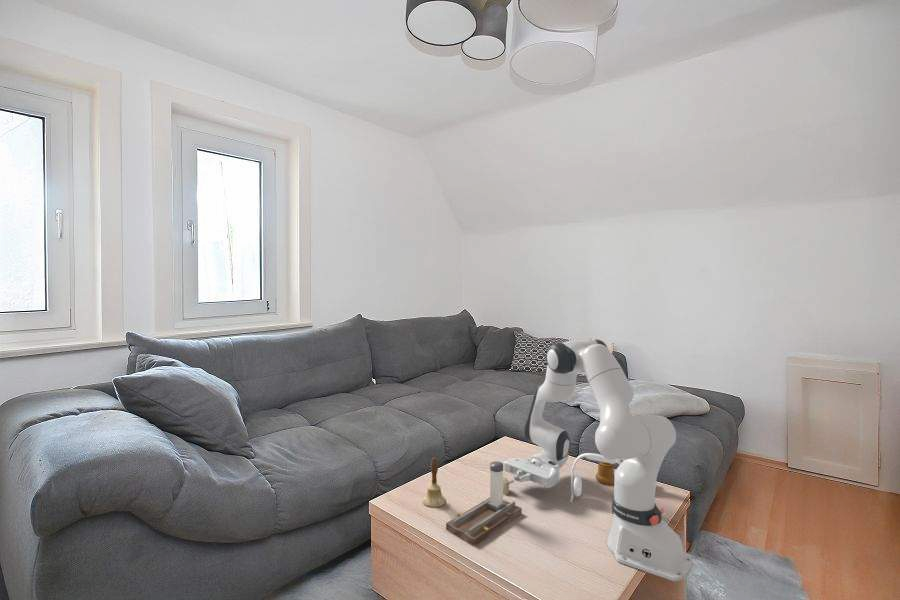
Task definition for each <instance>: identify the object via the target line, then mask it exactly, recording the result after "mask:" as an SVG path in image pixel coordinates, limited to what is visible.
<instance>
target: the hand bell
mask: <svg viewBox="0 0 900 600" xmlns="http://www.w3.org/2000/svg"><path fill="white" fill-rule="evenodd" d="M438 470H439V463H438V461H437V457H432V459H431V463H430V472H431V484H428V486H427V492H426V495H425V496H424V497H423V499H422V500H421V501H422V504H423V505H424V506H425V507H429V508H439V507H442V506H443V505H445V504H446V500H447V499H446V498H445V496H443V493H442V490H441V485H440V484H438V483H437V481H438V479H437V478H438V477H437V475H438Z"/></svg>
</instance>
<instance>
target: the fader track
mask: <svg viewBox="0 0 900 600" xmlns="http://www.w3.org/2000/svg"><path fill="white" fill-rule="evenodd" d="M488 502H490V497H488V498H486V499H485V500H482V501H481V502H480V503H478V504H476V505H475V506H473V507H471V508H470V509H468V510H466V511H465V512H463V513H461V512H460V513H458V514H457V516H456V517H454V518H452V519H451V520H449V521H447V522H446V523H445V529H446V530H447V531H448V532H450V533H451V534H453V535H455V536H457V537H459V538H461V539H462V540H463V541H466V542H467V543H469V544H471V545H472V546H475V547H476V546H477V545H478V544H480V543H481V542H482V541H484V540H485V539H487V538H488V537H490V536H492V535H493V534H495V533H496V532H497V531H499V530H500V529H502V528H503V527H504V526H506V525H507V524H509V523H511V522H512V521H513V520H515V519H516V518H518V517H519V516H520V515H522V514H523V512H522V511H523V509H522V507H520V506H519V505H517V504H516V500H515V501H514V500H512V501H511V502H509V501H507V500H505V499H503V503H505V504H506V506H505V507H503V508H501V509H500V510H498V511H495V510H493V509H491V508H489V507H487V503H488Z"/></svg>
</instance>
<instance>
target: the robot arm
mask: <svg viewBox="0 0 900 600" xmlns="http://www.w3.org/2000/svg"><path fill="white" fill-rule="evenodd" d="M545 358H546V363H547V366H546V372H545V377H544V378H545V379H544V382H542V383H540V384H538V386H537V388H536V390H535V391H534V394H533V398H532V401H531V405H530V408H529V413H528V416H527V419H526V421H525V423H524V426H523V429H522V430H523V436H524V438H525V440H526V441H527V442H529V443H532V444H534V445H537V446H539V447H540V448H542V449H543V450H541V451H540V452H537V453H535V454H533V455H532V456H530V457H529V458H528V459H527V460H526V459H524V458H521V457H517V456H516V457H512V458H509V459H506V460H505V461H504V463H503V471H504V472H507V473H510V474H511V475H513V476H514V477H513V481H517V482H519V483H523V482H532V483H534V484H537V485H539V486H543V487H544V488H548V489H549V488H550V489H551V488H553V487H555V485H557V484H558V483H559V482H560V469H561V468H563V466H564V465H565V464H566V463H567V461H568V460H569V454H570V453H569V452H570V448H571V438H570V434H569V433H568V432H567V430H565V429H562V428H560V427H559V426H556V425H554V424H551V422H548V421H546V420H544V419H543V413H544V410H545V406H546V403H547V402H548V403H550V402H551V403H560V402H561V403H562V402H564V401H567V400H569V399H570V398H572V396H573V395H574V393H575V390H576V386H577V378H578V377H577V376H578V375H577V374H578V373H584V375H585V377H586V380H587V382H588V385H589V386H590V388H591V391H592V393H593V395H594V397H595V400H596V402H597V405H598V409H599V417H600V418H599V425H598V426H597V429H596V430H595V434H594V442H595V446H596V448H597V450H598V452H599V453H600V455H603V456H604V457H605V458H607V459H610V460H619V461H621V462H622V463H621V464H620V465H619V464H618V465H619V466H618V467H617V468H616V469H615V470H614V475H615V476H614V484H613V485H614V486H613V488H614V489H613V490H614V491H613V496H612V501H611V514H612V518H611V519H612V520H611V526H610V530H609V533H608V534H609V535H608V537H607V540H606V544H607V546H608V549H610V551H611V552H612V553H613V554H614V558H615V560H616V561H617V562H618V563H620V564H623V565H626V566H629V567H631V568H634V569H638V570H640V571H643V572H646V573H647V574H648V573H649V574H652V575H655V576H658V577H660V578H663V579H666V580H669V581H672V582H677V581H678V582H679V581H682V580H684V579H685V578H687V576H689V574H691V572H692V569H693V566H694V565H693V564H694V563H693V559H692V558H693V557H692V556H691V554H690V553H687V551H684V546H683V541H682V539H681V537H680V535H679V534H677V532H675V531H674V529H672V528H671V527H670V526H669V525H668V524H667V523H666V522H665V520H663V519H662V518H663V516H662V515H663V513H664V508H663V507H662V508H661V509H659V507H658V506H657V504H656V490H657V487H656V482H657V479H658V475H659V472H660V468H661V466H662V462H663V461H664V459H665V457H666V455H667V453H668V452H669V450H670V449H671V448H672V447H673V446H674V444H675V443H676V440H677V431H676V428H675V427H674V424H673V423H672V422H671V421H670V419H668V418H667V417H665V416H663V415H660V414H659V415H658V414H657V415H656V414H644V415H642V414H641V415H638V416H637V415H636V416H633V415H632V413H631V408H630V403H631V402H632V401H633V398H634V396H635V393H634V388H632V385H631V383H630V381H629V380H628V378H627V375H626V374H625V372H624V370H623V368H622V366H621V365H620V363H619V362H618V360H617V359H616V357H615V356H614V354H613V353H612V351H610V349H609V348H608V345H607V343H605V342H604V341H603V340H601V339H597V338H589V339H578V340H577V339H571V340H567V341H564V342H563V341H562V342H555V343H553V344H551V345H550V346H549V347H548V349H547V351H546V356H545ZM655 489H656V490H655Z"/></svg>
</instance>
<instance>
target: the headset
mask: <svg viewBox="0 0 900 600" xmlns="http://www.w3.org/2000/svg"><path fill="white" fill-rule="evenodd" d="M582 458H586V459H587V460H591V461H597V462H606V463H610V464H613V465H614V464H618V465H620V464H621V463H622V462H623V461H622V460H610V459H607V458H605V457H604V456H603V455H602V454H601V453H600V454H599V453H594V452H587V453H585V452H584V453H582V454H580V455H578V456H577V457H576V459H575V460H574V461H573V464H572V467H571V470H570V487H571V489H570V490H571V498H570V503H571V504H572V503H573V500H574V495H575V497H581V495H582V489H583V479H582V476H581V475H580V474H578V473H577V474H574V473H575V472H574V471H575V469H576V465H577V463H578V461H580V460H581V459H582Z"/></svg>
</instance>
